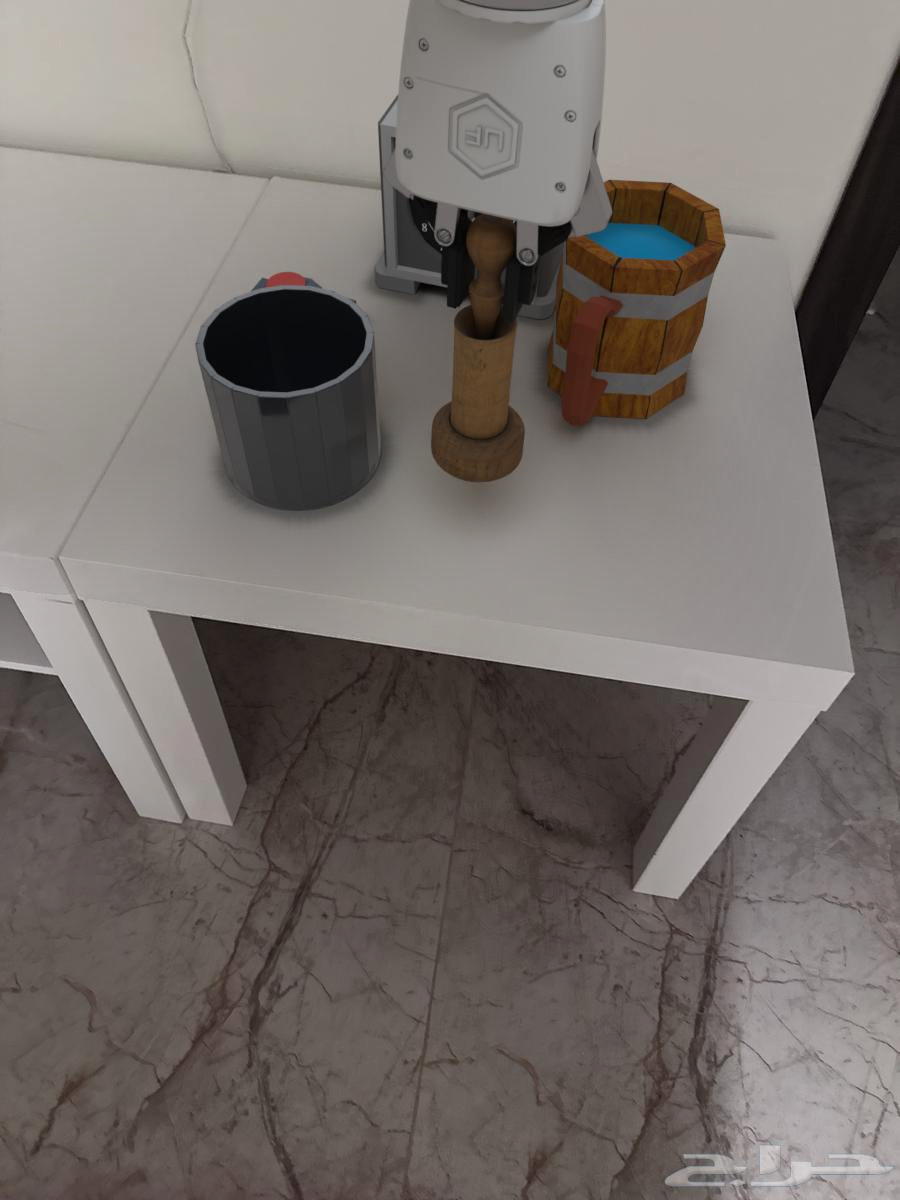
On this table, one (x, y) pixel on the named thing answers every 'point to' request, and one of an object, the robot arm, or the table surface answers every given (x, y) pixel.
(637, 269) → the mug
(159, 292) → the table surface
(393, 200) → the alarm clock
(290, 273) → the button
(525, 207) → the robot arm
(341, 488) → the grey open cylinder
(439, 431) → the mortar and pestle
